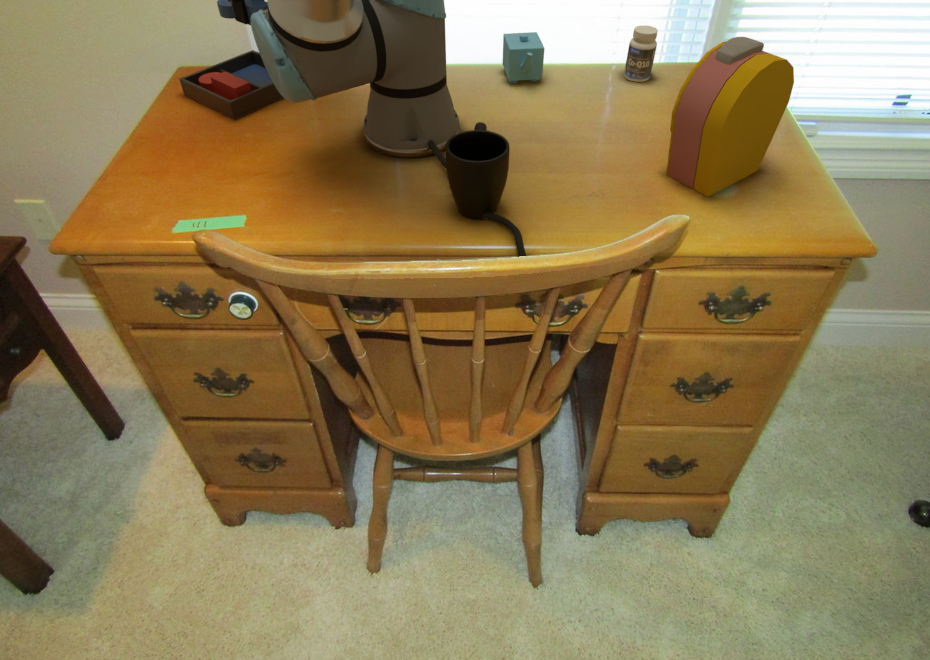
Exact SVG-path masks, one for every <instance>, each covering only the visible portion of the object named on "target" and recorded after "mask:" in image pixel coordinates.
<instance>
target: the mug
mask: <svg viewBox="0 0 930 660" xmlns="http://www.w3.org/2000/svg"><path fill="white" fill-rule="evenodd" d="M487 128H488V127H487V124H486V123H485V122H482V121H479V122H477V123H475V125H474V129H471V130H465V131H460V133H458V134H456V135H454V136H452V137H451V138H450V139H449V140H448V141H447V143H446V145H445V150H444V152H445V155H444V156H445V158H446V169H445V171H446V177H447V182H448V186H449V189H450V193H451V195H452V199H453V201H454V203H455V205H456V209H457V213H459V215H461V216H462V217H464V218H467V219H470V220H475V221H476V220H477V221H478V220H486V219H485V218H483V217H482V215H484V214H485V213H487V212H491V213H494V214H497V211H498V209H499V205H500V202H501V200H502V197H503V194H504V191H505V188H506V184H507V180H508V176H509V171H510V154H511V153H510V151H511V147H510V142H509V141H508V139H507V138H506V137H505V136H503V135H502V134H499V133H497V132H495V131H491V130H487Z"/></svg>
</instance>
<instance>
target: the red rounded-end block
mask: <svg viewBox="0 0 930 660" xmlns="http://www.w3.org/2000/svg"><path fill="white" fill-rule="evenodd" d="M199 83H200V86H201V87H203V88H205V89H207V90H209V91H211V92H213V93H215V94H218V95H220V96H222V97H224V98H226V99H228V100H230V101H231V100H233V99H236V98H238V97H240V96H242V95H245V94H247V93H249V92H252V90H251V86H250V83H249V82H248V81H245V80H243V79H241V78H238V77H236V76H234V75H232V74H229V73H227V72H222V73H220V72H212V73H207V74H204V75H202V76H200V77H199Z"/></svg>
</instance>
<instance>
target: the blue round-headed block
mask: <svg viewBox="0 0 930 660" xmlns="http://www.w3.org/2000/svg"><path fill="white" fill-rule="evenodd" d="M245 4H246V9H247V14H248V18H249V22H250V23H249V24H247V25H248V26H251V16H252V14H253V13H256V12H258V11H259V10H261V9H263V11H264V10H267V9H268V2H267V1H265V0H264V1H263V0H245ZM216 5H217V9H218V12H219V16H220V17H221V18H223V19H227V20H228V19H230V20H231V19H234V20H236V18H235V14H234V10H233V6H232V3H231V2H228V0H216Z"/></svg>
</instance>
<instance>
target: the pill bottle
mask: <svg viewBox="0 0 930 660" xmlns="http://www.w3.org/2000/svg"><path fill="white" fill-rule="evenodd" d="M657 36H658V29H657V28H656V27H655V26H651V25H642V24H641V25H637V26H635V27H634V29H633V32H632V38H631V39H630V41H629V44H628V49H627V54H626V62H625V67H624V72H623V76H624V78H625V79H626V80H628V81H631V82H635V83H642V82H647V81H649V80H650V78H651V74H652V70H653V66H654V61H655V58H656V57H655V56H656V51H657V46H658V43H657V41H656V40H657Z"/></svg>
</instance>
